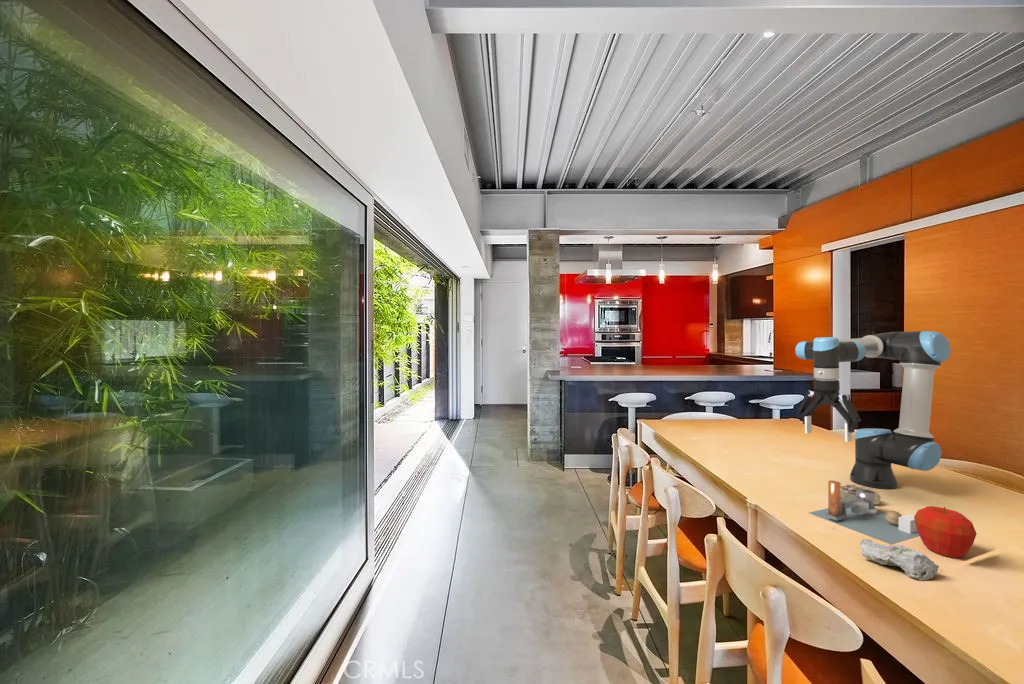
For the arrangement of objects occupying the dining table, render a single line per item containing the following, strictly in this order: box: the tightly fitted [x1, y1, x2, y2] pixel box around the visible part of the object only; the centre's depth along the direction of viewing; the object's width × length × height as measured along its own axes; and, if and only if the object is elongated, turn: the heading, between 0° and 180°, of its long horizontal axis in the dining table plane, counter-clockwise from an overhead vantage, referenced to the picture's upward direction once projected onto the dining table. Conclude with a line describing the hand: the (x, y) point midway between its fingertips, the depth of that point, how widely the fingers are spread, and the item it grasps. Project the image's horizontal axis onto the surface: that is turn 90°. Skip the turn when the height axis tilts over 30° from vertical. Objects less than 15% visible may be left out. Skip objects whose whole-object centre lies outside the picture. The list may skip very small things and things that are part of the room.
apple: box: [914, 505, 977, 559], centre depth 119 cm, size 12×12×14 cm
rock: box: [840, 484, 882, 505], centre depth 156 cm, size 7×11×10 cm
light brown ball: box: [885, 510, 903, 525], centre depth 136 cm, size 4×4×4 cm
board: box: [808, 507, 920, 546], centre depth 139 cm, size 24×24×5 cm
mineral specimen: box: [859, 538, 940, 582], centre depth 112 cm, size 16×7×7 cm, turn 44°
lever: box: [826, 480, 876, 521], centre depth 142 cm, size 21×6×12 cm, turn 112°
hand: (827, 437), depth 153 cm, fingers open, 13 cm apart
